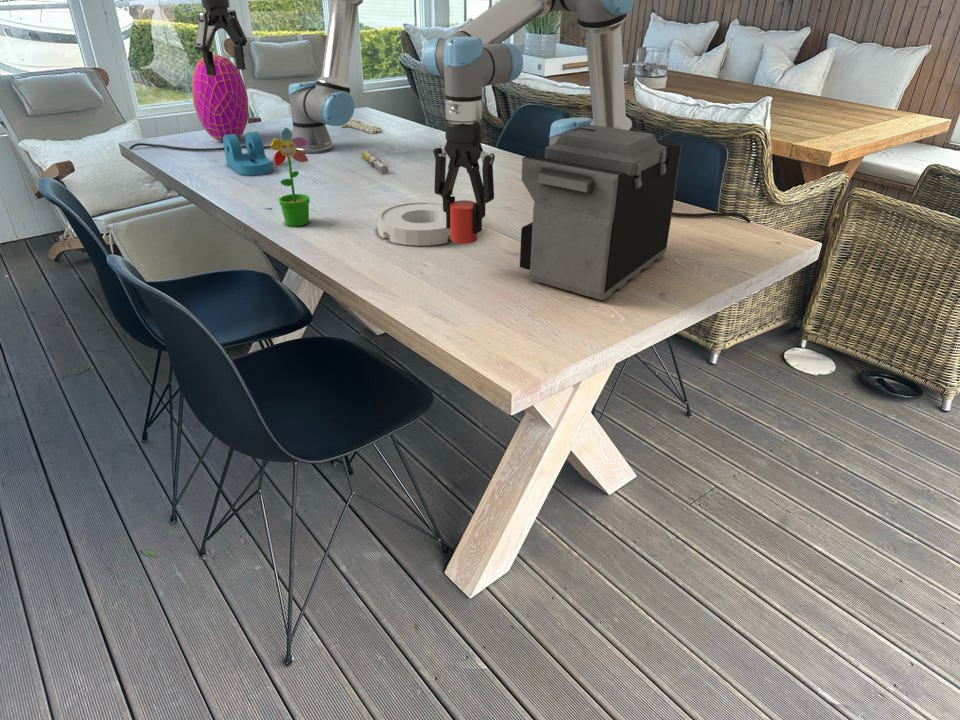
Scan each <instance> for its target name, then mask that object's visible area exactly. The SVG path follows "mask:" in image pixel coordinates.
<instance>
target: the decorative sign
mask: <svg viewBox="0 0 960 720" xmlns="http://www.w3.org/2000/svg"><path fill="white" fill-rule="evenodd" d="M361 122H362V121H361V120H356V118H351V119H350V120H349V121H348V122H347V123H346V124H344V125H342V126H341V127H342V128H346V127H347V128H354V129H358V130H360V131H365V132H366V133H370V134H376V133H381V131H382V130H381V129H382V127H381V126H377V125H370V124H369V123H361Z"/></svg>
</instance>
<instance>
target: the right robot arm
mask: <svg viewBox="0 0 960 720" xmlns="http://www.w3.org/2000/svg"><path fill="white" fill-rule="evenodd" d="M635 1H636V0H499V1H497V2H496V3H495V4H493V5H491V7H489V8H487V9H486V10H484V11H483V12H482V13H480V14H479V15H478V16H476V17H475V18H473V19H472V20H471V21H470V22H468V23H467V24H465V25H464V26H463V27H461V28H460V29H458V30H457V31H455V32H454V33H453V34H451V35H450V36H448V37H446V38H444V37H439V38H438V37H436V38H432V39H430V40H428V42H426V44H425V46H424V48H423V53H422V59H423V64H424V67H425V69H426V70H427V71H428V73H430V74H431V75H434V76H439V77H441V78H444V116H445V117H444V118H445V119H446V120H447V121H446V122H445V123H444V128H445V130H444V133H445V134H444V135H445V140H446V142H445V145H444V146H443V145H440V146H438V147H435V148H433V150H432V151H433V155H434V159H435V160H434V162H435V163H434V190H433V192H434V194H435V195H439V196H440V197H441V198H442V203H443V211H444V212H446V228H448V229H450V204H451V203H452V202H454V201H456V196H454V192H453V191H454V187H455V184H456V181H457V176H458V173H459V171H460V168H464V169H465V170H466V174H468V176H469V180H470V183H471V187H472V191H473V195H474V198H475V202H476V203H475V204H473V234H477V233H478V234H479V233H480V232H482V231H483V219H484V218H485V217H486V204H489V203H490V202H491V201H493V200H494V199H495V187H494V185H495V184H494V162H495V159H496V154H494V153H493V152H491V153H489V152H487V151H484V149H483V146H482V139H483V123H482V121H481V120H482V119H483V87H488V86H494V85H500V84H504V85H505V84H507V83H510V82H512V81H515V80H517V79H518V78H519V77H520V76H521V74H522V72H523V70H524V69H523V68H524V58H523V54H522V51H521V50H520V48H519V47H518V46H517V45H516V44H513V43H512V42H511V43H510V42H507V43H506V42H505V41H507V40H508V39H509V38H510V37H512V36H513V35H514V34H516V33H517V32H518V31H520V30H521V29H522V28H523V27H525V26H527V24H529V23H530V22H532V21H533V20H534V19H536V18H537V19H542V18H544V17H546V16H547V15H548V14H549V13H553V12H562V11H563V12H574V13H575V12H576V18H577V25H578V27H579V28H581V29H582V30H583V31H584V34H585V47H586V57H587V58H586V59H587V69H588V81H589V91H590V92H589V93H590V103H591V113H592V114H591V116H592V118H590V117H583V116H581V117H569V118H568V117H567V118H561V119H557V120H554V121H553V122H552V123H551V125H550V129H549V130H550V131H549V135H548V138H549V141H548V142H549V143H548V146H550V145H552V144H554V143H556V141H557V140H558V138H559V137H560V135H561V134H563V133H566V132H569V131H577V130H579V128H580V127H583V126H586V125H589V124H590V125H597V126H603V127H610V128H617V129H623V130H630V131H633V122H632V119H630V118H629V117H628V116H627V113H626V112H627V111H626V94H625V76H624V75H625V74H624V73H625V72H624V56H623V53H624V52H623V36H622V24H623V23H624V22H625V21H626V19H627V17H628V13H629V12H630V11H631V10H632V9H633V6H634V4H635ZM504 42H505V43H504ZM447 156H448V158H449V161H448V166H447ZM480 159H481V161H480V162H481V164H482V169H481V167H480V164H479V163H480V162H479V160H480ZM446 169H448V170H447V171H446ZM480 169H481V170H482V173H481V172H480ZM481 174H482V176H481ZM672 216H674V217H683V218H684V217H687V218H701V217H702V218H704V217H737V218H741V219H743V220H744V221H745V222H746V223H748V224H749V223H750V224H751V223H752V221H751V219H750V218H749V217H748V216H746V215H745V214H742V213H740V212H703V213H701V212H700V213H689V212H688V213H687V212H676V211H675V212H673V211H672Z"/></svg>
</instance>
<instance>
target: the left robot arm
mask: <svg viewBox="0 0 960 720" xmlns="http://www.w3.org/2000/svg"><path fill="white" fill-rule="evenodd" d="M200 2H201V7H202V8H203V9H205V12H198V13H197V20H198V23H197V31H196V38H195V49H196V50H197V51H199V52H201V54H202V58H203V59H204V63H205V66H206V71H207V75H211V76H216V70H215V64H214V59H213V55H214V54H213V51H212V50H211V47H212V45H213V41H214V38H215V35H216V33H217V31H219V30H222V29H223V30H224V31H225V33H226V34H227V36H228V37H229V38H230V40H231V41H232V43H233V47H232V48H233V54H234V58H235V59H234V60H235V67H236V68H237V69H238V70H242V71H245V70H246V62H245V52H244V47H246V46H247V43H248V39H247V37H246V35H245V33H244V30H243V28H242V26H241V24H240V21H239V20H238V15H237V11H236V10H233V9H229V8H230V7H231V6H230V0H200ZM363 3H364V0H331V1H330V10H329V15H328V16H329V18H328V25H327V31H326V38H325V39H326V40H325V48H324V55H323V62H322V70H321V75H320V77H319V78H317V79H316V80H311V81H303V82H302V81H301V82H294V83H290V84H289V86H288V97H289V107H290V113H291V121H292V131H291V134H292V139H293V138H295V137H299V136H300V137H304V138H305V139H307V140H308V141H309V143H307V144H306V145H305V146H303V147H301V148H297V149H299V150H301V151H302V152H304V153H305V154H317V153H318V154H319V153H324V152H329V151H331V150H332V149H333V148H334V147H333V146H334V145H333V140H332V139H331V135H330V133H329V130H328V128H327V126H331V127H342V125H344V124H346V123H347V122H348V121H349V120H350V119H352V117H353V116H354V112H355V101H354V100H353V97H352V95H351V86H350V85H349V83H348V76H349V69H350V61H351V55H352V47H353V41H354V34H355V27H356V19H357V13H358V7H359V6H361V5H362V4H363ZM138 146H139V147H140V146H145V147H154V148H165V149H166V148H167V149H173V150H182V151H193V152H194V151H195V152H197V151H198V152H209V151H213V152H214V151H225V150H224V147H211V148H210V147H209V148H208V147H207V148H206V147H205V148H200V147H199V148H197V147H196V148H194V147H183V146H182V147H181V146H172V145H166V144H155V143H154V144H153V143H146V142H145V143H144V142H139V143H134V144H132V145H131V146H130V147H128V150H132V149H133V148H136V147H138ZM240 146H241V149H247V147H246V145H240ZM264 149H272V148H271V145H264Z"/></svg>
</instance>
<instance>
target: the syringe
mask: <svg viewBox="0 0 960 720" xmlns="http://www.w3.org/2000/svg"><path fill="white" fill-rule="evenodd" d="M361 155H362V158H363V159H364V160H366V161H367V162H368V163H369V164H370V166H371V167H373V168H374V167H375V168H377V169H378V170H379V172H381V174H383V175H384V174H387V173H388V172H390V170H389V168H388V166H387V165H384V164H383V163H382V160H381V159H379V158H377V157H376V156H374V155H373V154H372V153H370V151H369V150H367V149H365V150H363V151H362V154H361Z"/></svg>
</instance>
